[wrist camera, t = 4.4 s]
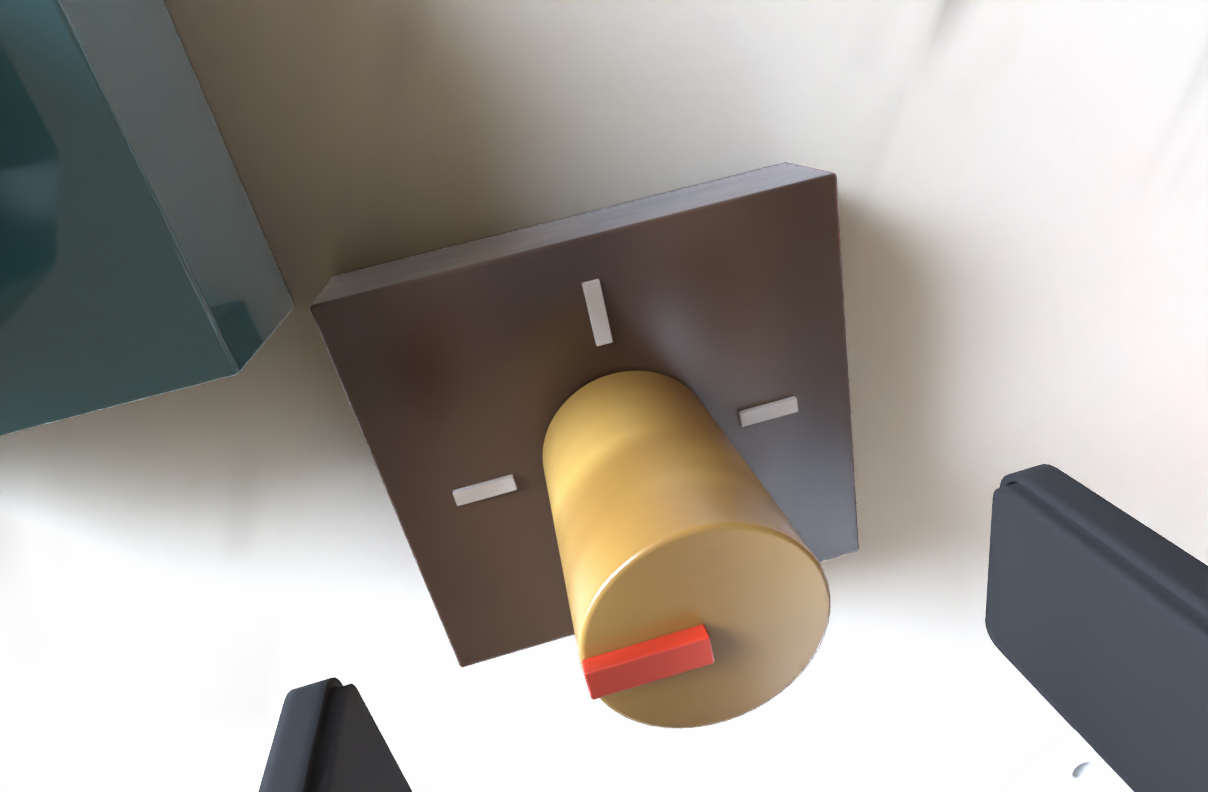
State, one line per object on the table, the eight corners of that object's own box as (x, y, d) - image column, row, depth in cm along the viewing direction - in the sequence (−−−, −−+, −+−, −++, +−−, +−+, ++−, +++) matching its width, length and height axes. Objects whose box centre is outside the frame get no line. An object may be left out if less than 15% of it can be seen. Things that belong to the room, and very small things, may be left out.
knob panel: (787, 161, 16) (841, 173, 14) (818, 501, 21) (863, 554, 18) (331, 275, 16) (306, 309, 13) (461, 604, 20) (460, 674, 17)
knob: (698, 348, 15) (833, 503, 9) (722, 496, 17) (849, 702, 11) (522, 396, 15) (552, 584, 9) (564, 541, 17) (612, 776, 11)
